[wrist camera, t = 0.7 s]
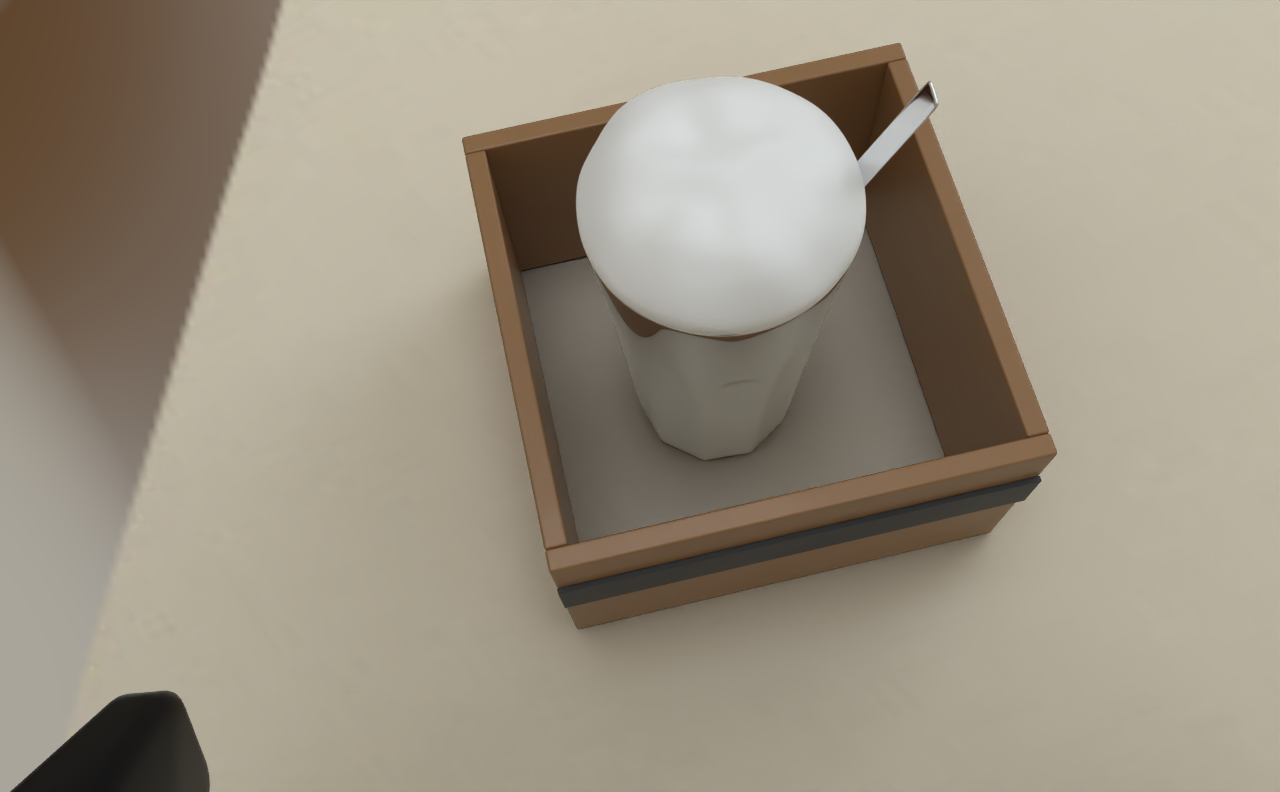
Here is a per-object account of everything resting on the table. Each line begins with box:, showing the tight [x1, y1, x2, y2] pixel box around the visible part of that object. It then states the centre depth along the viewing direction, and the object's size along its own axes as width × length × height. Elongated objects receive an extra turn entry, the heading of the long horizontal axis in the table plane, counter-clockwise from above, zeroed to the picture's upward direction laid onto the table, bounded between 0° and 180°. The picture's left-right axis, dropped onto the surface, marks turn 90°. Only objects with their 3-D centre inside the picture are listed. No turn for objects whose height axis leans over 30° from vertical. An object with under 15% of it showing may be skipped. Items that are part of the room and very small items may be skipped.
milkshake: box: [576, 76, 938, 460], centre depth 22 cm, size 4×5×10 cm
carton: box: [462, 43, 1057, 629], centre depth 24 cm, size 9×9×5 cm
